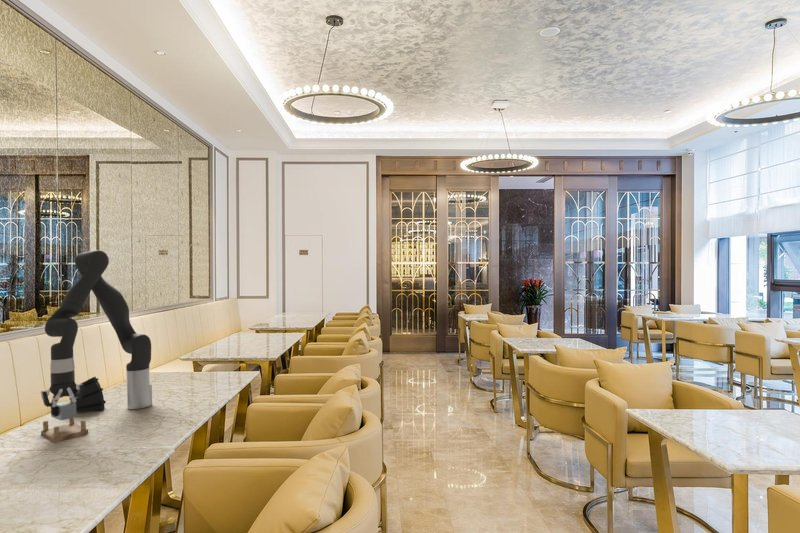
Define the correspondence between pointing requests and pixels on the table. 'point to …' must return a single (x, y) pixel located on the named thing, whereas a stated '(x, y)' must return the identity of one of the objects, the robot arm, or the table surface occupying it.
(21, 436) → the table surface
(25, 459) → the table surface
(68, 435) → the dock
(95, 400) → the black ribbed wedge
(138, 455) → the table surface
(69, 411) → the grey rectangular block
